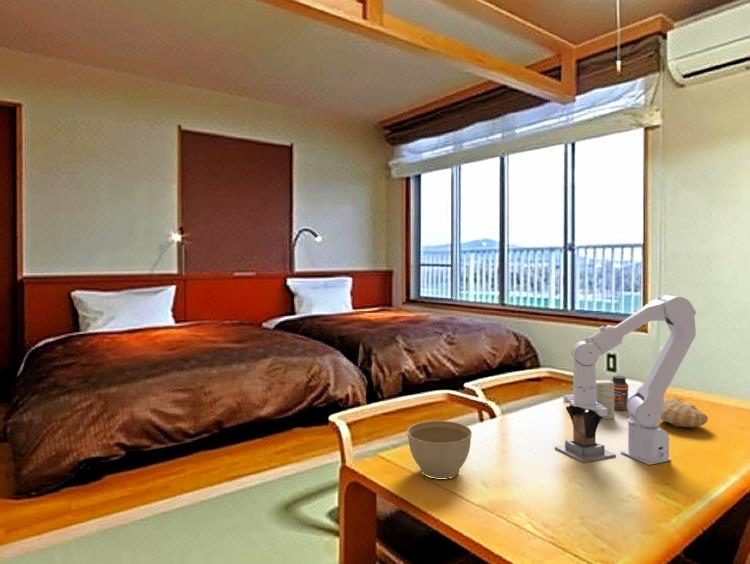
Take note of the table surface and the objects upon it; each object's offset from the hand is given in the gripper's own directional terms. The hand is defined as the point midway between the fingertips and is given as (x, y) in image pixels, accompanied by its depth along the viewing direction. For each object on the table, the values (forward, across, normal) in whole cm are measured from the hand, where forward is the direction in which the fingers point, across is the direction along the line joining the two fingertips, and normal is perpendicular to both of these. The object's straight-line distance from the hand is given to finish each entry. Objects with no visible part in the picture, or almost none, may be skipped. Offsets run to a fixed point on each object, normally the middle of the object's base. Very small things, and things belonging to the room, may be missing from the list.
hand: (584, 434), depth 144 cm
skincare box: (+5, -22, +28) cm, 36 cm away
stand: (+5, 0, 0) cm, 5 cm away
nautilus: (+5, -7, +45) cm, 46 cm away
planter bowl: (+5, -4, -42) cm, 43 cm away
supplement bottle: (+5, -27, +40) cm, 48 cm away
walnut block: (+2, 0, 0) cm, 2 cm away
